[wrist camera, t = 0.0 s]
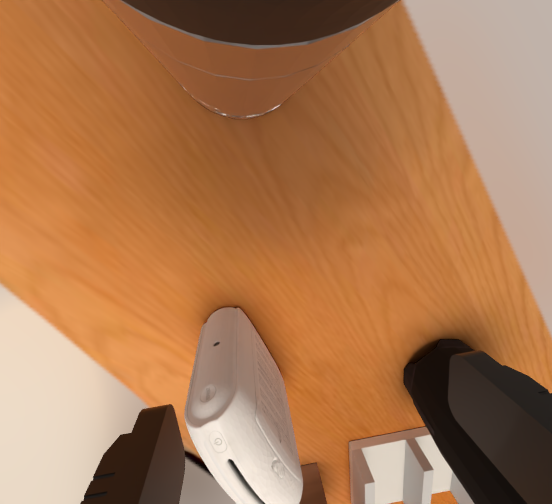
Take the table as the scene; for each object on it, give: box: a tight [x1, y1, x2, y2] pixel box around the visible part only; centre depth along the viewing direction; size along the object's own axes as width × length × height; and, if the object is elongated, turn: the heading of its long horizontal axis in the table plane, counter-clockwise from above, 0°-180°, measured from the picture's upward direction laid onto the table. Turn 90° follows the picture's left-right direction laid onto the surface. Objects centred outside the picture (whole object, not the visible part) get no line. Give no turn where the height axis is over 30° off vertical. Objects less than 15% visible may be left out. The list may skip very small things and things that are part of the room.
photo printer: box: [185, 307, 303, 504], centre depth 23 cm, size 10×4×12 cm, turn 25°
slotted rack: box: [349, 427, 474, 504], centre depth 34 cm, size 10×19×4 cm, turn 96°
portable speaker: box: [404, 339, 527, 504], centre depth 23 cm, size 9×9×20 cm
